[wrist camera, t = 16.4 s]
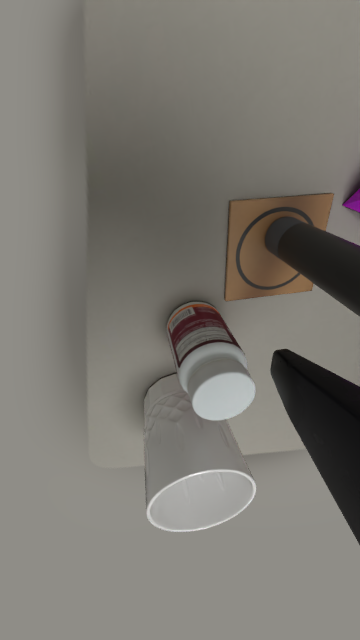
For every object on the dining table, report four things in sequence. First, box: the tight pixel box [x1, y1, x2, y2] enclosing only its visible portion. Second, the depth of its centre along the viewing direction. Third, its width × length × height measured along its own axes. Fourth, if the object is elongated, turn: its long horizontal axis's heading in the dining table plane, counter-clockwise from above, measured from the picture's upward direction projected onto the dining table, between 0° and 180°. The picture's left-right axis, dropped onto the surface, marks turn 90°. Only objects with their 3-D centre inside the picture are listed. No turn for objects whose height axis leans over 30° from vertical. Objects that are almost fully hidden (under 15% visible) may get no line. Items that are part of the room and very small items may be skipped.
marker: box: [265, 216, 360, 316], centre depth 16 cm, size 3×3×13 cm
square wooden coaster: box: [225, 193, 334, 301], centre depth 22 cm, size 8×8×1 cm
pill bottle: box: [167, 302, 256, 420], centre depth 21 cm, size 5×5×8 cm
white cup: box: [144, 374, 256, 532], centre depth 24 cm, size 8×8×10 cm
